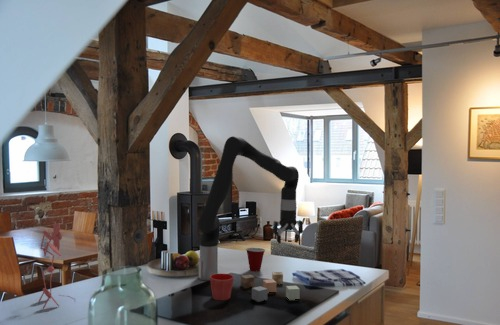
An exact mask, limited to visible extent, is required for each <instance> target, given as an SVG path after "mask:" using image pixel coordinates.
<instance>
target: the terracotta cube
mask: <svg viewBox="0 0 500 325" xmlns="http://www.w3.org/2000/svg"><path fill="white" fill-rule="evenodd" d="M262 287H264V288H266V289H268V291H267V294H270V293H269V292H276V293H277V282H276V281H275V280H273V279H272V278H271V279H263V280H262Z"/></svg>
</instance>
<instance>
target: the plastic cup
mask: <svg viewBox="0 0 500 325" xmlns="http://www.w3.org/2000/svg"><path fill="white" fill-rule="evenodd" d="M245 251H246V254H247V261H248V267H249V271H251V272H260V271H261V269H262V265H263V264H262V263H263V259H264V258H263V257H264V255H265V251H266V249H265V248H261V247H246V248H245Z"/></svg>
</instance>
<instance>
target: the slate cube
mask: <svg viewBox="0 0 500 325" xmlns="http://www.w3.org/2000/svg"><path fill="white" fill-rule="evenodd" d="M267 291H268V289H266V288H264V287H263V285H262V286H261V285H259V286H255V287H252V288H251V300H254V301H255V302H257V303H260V302H263V301H264V300H265V301H268V293H267Z"/></svg>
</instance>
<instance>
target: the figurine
mask: <svg viewBox="0 0 500 325" xmlns="http://www.w3.org/2000/svg"><path fill="white" fill-rule="evenodd" d="M53 222H54V223H53V226H52V228H53V229H52V231H53V232H51V234H50V233H49V232H48V231H47V230H45V229H44V231H43V235H42V240H41V244H40V247H39V249H40V250H42V251H43V256H44V257H46V256H47V253H48V254H50V255H51V256H52V261H51V266H48V267H47V269H46V270H47V271H45V272H43V273H42V280H43V284H44V287H43V288H42V291H43V292H42V294H41V295H40V298H39V300H38V303H41V300H42V298H43V297H44V295H45V296H46V298H47V299H46V301H45V303H44V305H43V306H42V308H43V309H45V308H46V305H47V303H48V302H49V300H51V299H52V301H53V302H54V303H55V304H56V305H57V307H60V305H59V304H58V302H57V301H56V299H55V298H54V297H53V296H52V275H53V272H54V271H55V268H54V265H53V264H54V259H55V255H54V253H55V254H56V255H58V256H60V257H61V256H62V254H61V252H60V245H61V244H60V243H61V242H60V241H61V240H62V238H63V235H62V232H61V231H60V230H61V227H60V226H61V225H60V222H58V223H57V221H53ZM45 237H46V238H47V240H48V241H47V242H46V245H45V247H43V243H44V241H45V240H44V239H45ZM51 241H53V242H51ZM48 248H50V250H52V251H53V252H54V253H52V252H51V251H48ZM46 273H50V277H49V284H50V285H49V287H50V288H49V290H50V291H49V290H48V289H47V287H46V286H47V285H46V281H45V280H46V279H45V276H44V274H46ZM58 296H61V297H64V295H61V294H58ZM67 297H68V298H71V299H74V300H75V297H74V298H73V297H71V296H69V295H67ZM48 312H49V311H47V313H48Z"/></svg>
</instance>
